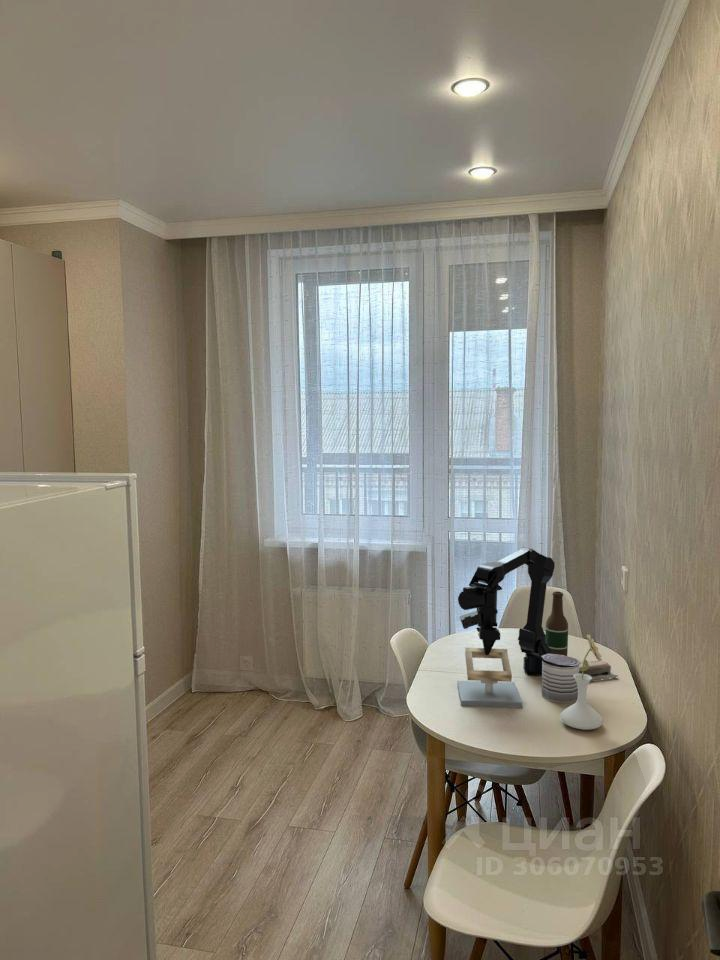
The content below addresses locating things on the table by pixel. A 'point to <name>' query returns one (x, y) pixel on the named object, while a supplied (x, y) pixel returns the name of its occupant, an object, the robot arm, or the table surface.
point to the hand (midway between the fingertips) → (486, 653)
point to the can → (559, 678)
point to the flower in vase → (583, 699)
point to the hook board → (489, 693)
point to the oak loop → (488, 675)
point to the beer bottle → (557, 627)
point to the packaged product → (598, 670)
